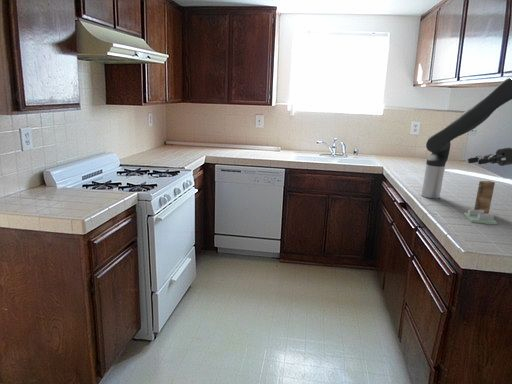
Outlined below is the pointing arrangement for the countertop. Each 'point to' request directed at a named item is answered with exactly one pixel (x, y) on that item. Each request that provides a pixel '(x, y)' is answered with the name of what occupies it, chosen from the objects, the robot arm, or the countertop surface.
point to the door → (484, 195)
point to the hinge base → (474, 219)
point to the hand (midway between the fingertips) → (473, 161)
